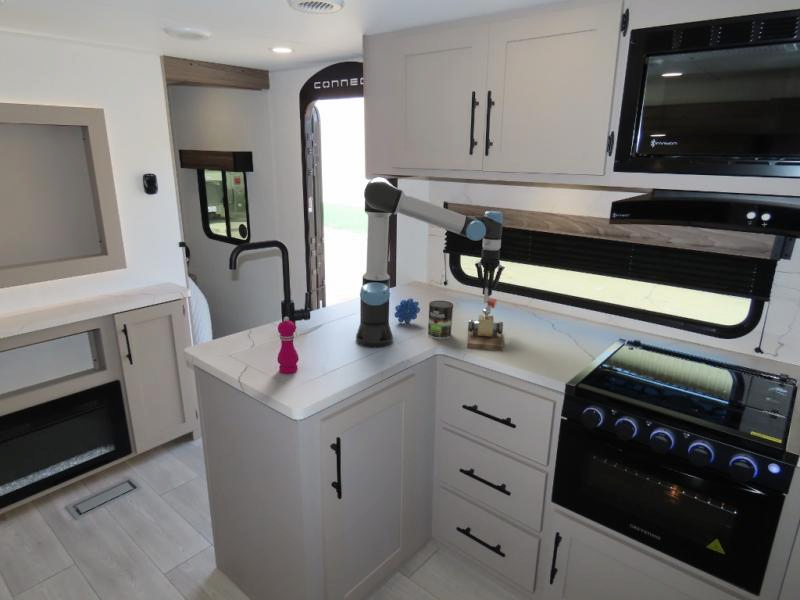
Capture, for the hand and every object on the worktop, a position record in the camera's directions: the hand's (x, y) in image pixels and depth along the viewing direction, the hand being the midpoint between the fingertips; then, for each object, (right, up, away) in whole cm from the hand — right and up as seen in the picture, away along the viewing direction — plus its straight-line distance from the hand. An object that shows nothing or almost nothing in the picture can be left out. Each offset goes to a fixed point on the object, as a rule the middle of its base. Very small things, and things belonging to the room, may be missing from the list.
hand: (486, 302), depth 211 cm
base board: (-2, -16, -6) cm, 17 cm away
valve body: (-2, -14, -7) cm, 16 cm away
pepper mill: (-77, -24, -39) cm, 90 cm away
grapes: (-34, -10, +13) cm, 38 cm away
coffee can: (-21, -14, -2) cm, 25 cm away
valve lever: (+1, -3, -4) cm, 5 cm away
